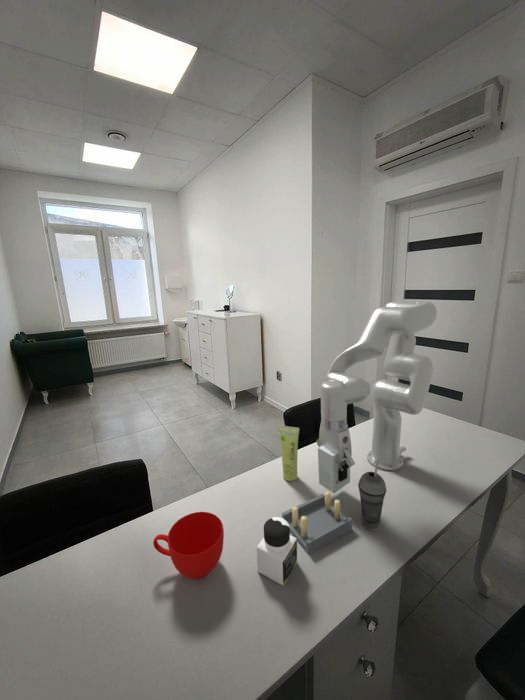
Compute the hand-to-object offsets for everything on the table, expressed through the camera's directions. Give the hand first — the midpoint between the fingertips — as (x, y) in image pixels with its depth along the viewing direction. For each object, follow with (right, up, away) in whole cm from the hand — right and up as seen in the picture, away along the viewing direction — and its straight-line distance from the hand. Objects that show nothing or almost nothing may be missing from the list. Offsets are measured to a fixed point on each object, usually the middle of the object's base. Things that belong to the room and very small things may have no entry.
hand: (334, 472), depth 94 cm
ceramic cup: (-40, -14, -22) cm, 48 cm away
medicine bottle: (-19, -14, -22) cm, 32 cm away
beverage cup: (+8, -10, -10) cm, 16 cm away
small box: (0, -4, +1) cm, 4 cm away
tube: (-13, -6, +11) cm, 18 cm away
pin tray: (-8, -11, -11) cm, 17 cm away
